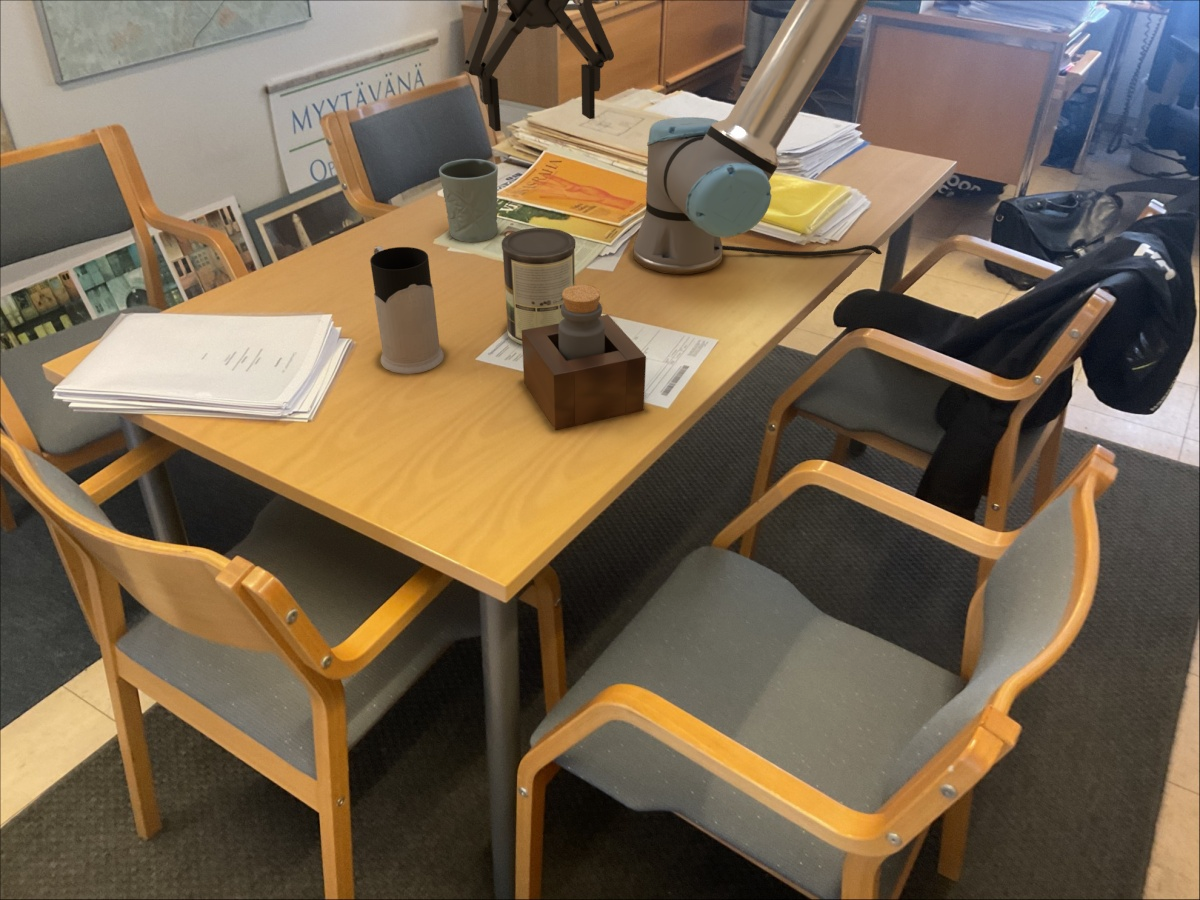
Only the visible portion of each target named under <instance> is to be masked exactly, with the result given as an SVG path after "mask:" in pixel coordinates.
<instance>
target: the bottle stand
mask: <svg viewBox="0 0 1200 900" xmlns="http://www.w3.org/2000/svg"><path fill="white" fill-rule="evenodd" d="M599 319H601V320H602V321H603V323H604V326H605V353H604V354H599V355H594V356H589V357H584V358H579V359H574V360H569V361H566V360H565V359H564V357H563V356H562V355H561V353H560V352H559V330H558V329H559V324H554V325H548V326H543V327H537V328H531V329H526V330H522V345H521V346H522V347H521V348H522V368H523V383H524V385H525V387H526V388H527V389H528V391H529V393H530V394H531V395H532V397H533V398H534V400H535V401H536V403H537V405H538V406H539V407H540V409H541V411H542V412H543V413H544V415H545V416H546V418H547V419H548V421H549V422H550V424H551V425H552V428H553V429H554V430H555V431H556V430H561V429H566V428H570V427H574V426H578V425H583V424H588V423H593V422H596V421H601V420H606V419H610V418H614V417H619V416H623V415H629V414H632V413H633V414H634V413H637V412H642V411H644V410H645V391H646V389H645V387H646V370H647V369H646V367H647V366H646V365H647V356H646V354H644V352H643V351H642V350H641V349H640V348H639V347H638V346H637V344H636V343H634V341H633V340H632V339H631V338H630V337H629V336H628V335H627V334H626V332H624V330H623V329H622V328H621V327H620V326H619V325H618V323H616V321H615V320H614V319H613V318H612V317H611V316H610V315H609V314H601V316H600V317H599Z"/></svg>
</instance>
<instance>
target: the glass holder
mask: <svg viewBox="0 0 1200 900" xmlns="http://www.w3.org/2000/svg"><path fill="white" fill-rule="evenodd" d="M369 261H370V269H371V275H372V282H373V288H374V293H373V296H374V297H373V298H374V303H375V304H374V305H375V311H376V317H377V323H378V330H379V337H380V344H381V349H382V354H381V356H380V364H381V365H382V367H383V368H384V369H386V370H388V371H390V372H392V373H396V374H403V375H410V374H411V375H413V374H419V373H424V372H427V371H430V370H432V369H435V368H436V367H437V366H439V365H440V364H441V363H442V362H443V360H444V358H445V355H444V351H443V350H442V348H441V346H440V337H439V330H438V321H437V312H436V303H435V295H434V294H435V293H434V286H433V284H432V279H431V277H432V276H431V269H430V261H429V255H428V253H427V252H426V251H425V250H423V249H422V248H421V249H420V248H417V247H411V246H397V247H389V248H385V249H384V248H383V247H382V246H379V245H378V246H374V248H373V255H372V256H371V257H370V260H369Z"/></svg>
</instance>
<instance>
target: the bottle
mask: <svg viewBox="0 0 1200 900" xmlns="http://www.w3.org/2000/svg"><path fill="white" fill-rule="evenodd" d="M562 296H563V300H564V303H563V304H562V305H561V314H562V316H563V317H564V319H563V320H561V322H560V323H559V329H558V330H559V352H560V353H561V355H562V356H563V357H564V359H565V360H566V361H569V360H574V359H579V358H584V357H589V356H594V355H599V354H604V353H605V326H604V323H603V321H602V320H601V319H599V317H600V316H602V315H603V305H602V303H600V298H601V291H600V290H599V289H598V288H597V287H595V286H592V285H589V284H588V285H587V284H575V286H570V287H568V288H566V289H564V291H563V292H562Z"/></svg>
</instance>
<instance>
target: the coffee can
mask: <svg viewBox="0 0 1200 900" xmlns="http://www.w3.org/2000/svg"><path fill="white" fill-rule="evenodd" d="M576 244H577V243H576V239H575V237H574V236H573V235H572V234H570V233H569V232H566V231H564V230H560V229H556V228H551V227H550V228H549V227H531V228H525V229H519V230H516V231H512V232H511V233H509V234H507V235H506V236H505V237H504V238H503V239H502V240H501V250H502V260H503V274H504V292H505V305H506V324H507V329H506V330H507V331H506V332H507V336H508V337H509V339H510V340H511V341H513V342H514V343H516V344H518V345H521V346H522V330H526V329H531V328H537V327H543V326H548V325H554V324H559V323H560V322H561V320H563V319H564V317H563V316H562V314H561V305H562V304H563V303H564V300H563V296H562V292H563V291H564V289H566V288H568V287H570V286H575V285H576V266H575V265H576V264H575V262H576V261H575V257H576V256H575V255H576V254H575V251H576Z"/></svg>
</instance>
